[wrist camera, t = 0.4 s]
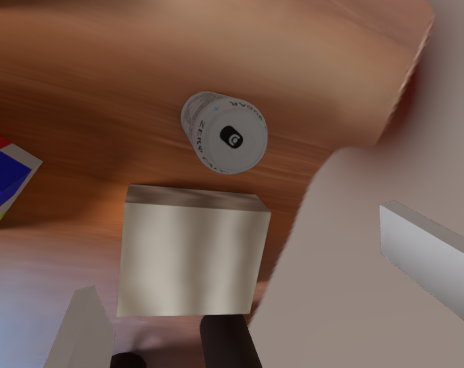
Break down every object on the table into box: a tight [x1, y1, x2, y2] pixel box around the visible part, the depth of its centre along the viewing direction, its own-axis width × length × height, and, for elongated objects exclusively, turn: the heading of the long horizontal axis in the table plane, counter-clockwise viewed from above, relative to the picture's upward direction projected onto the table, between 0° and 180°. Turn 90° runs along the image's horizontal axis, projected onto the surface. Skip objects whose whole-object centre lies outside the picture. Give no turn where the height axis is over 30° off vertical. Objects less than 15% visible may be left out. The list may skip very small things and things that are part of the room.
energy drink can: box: [181, 91, 268, 174], centre depth 30 cm, size 6×6×15 cm
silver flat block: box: [117, 184, 271, 317], centre depth 39 cm, size 16×14×6 cm
